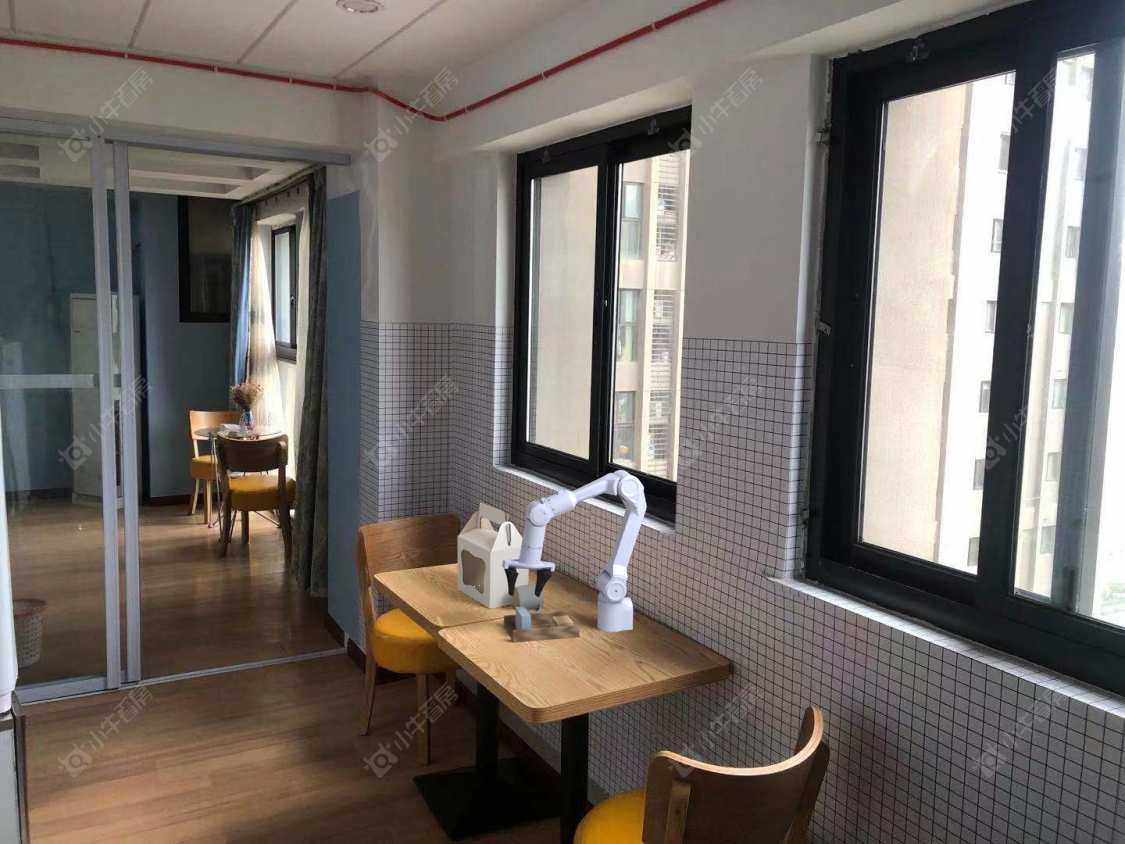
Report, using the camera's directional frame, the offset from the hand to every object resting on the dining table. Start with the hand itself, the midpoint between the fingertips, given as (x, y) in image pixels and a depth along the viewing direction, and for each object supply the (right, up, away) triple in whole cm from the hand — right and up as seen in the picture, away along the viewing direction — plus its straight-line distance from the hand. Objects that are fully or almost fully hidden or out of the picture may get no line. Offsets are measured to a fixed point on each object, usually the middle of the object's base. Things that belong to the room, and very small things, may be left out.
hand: (523, 595), depth 245 cm
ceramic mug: (+1, -9, +22) cm, 24 cm away
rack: (+4, -11, +3) cm, 12 cm away
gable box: (-11, -7, +36) cm, 38 cm away
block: (0, -10, +1) cm, 11 cm away
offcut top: (+10, -9, +4) cm, 14 cm away
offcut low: (+10, -10, +4) cm, 15 cm away
